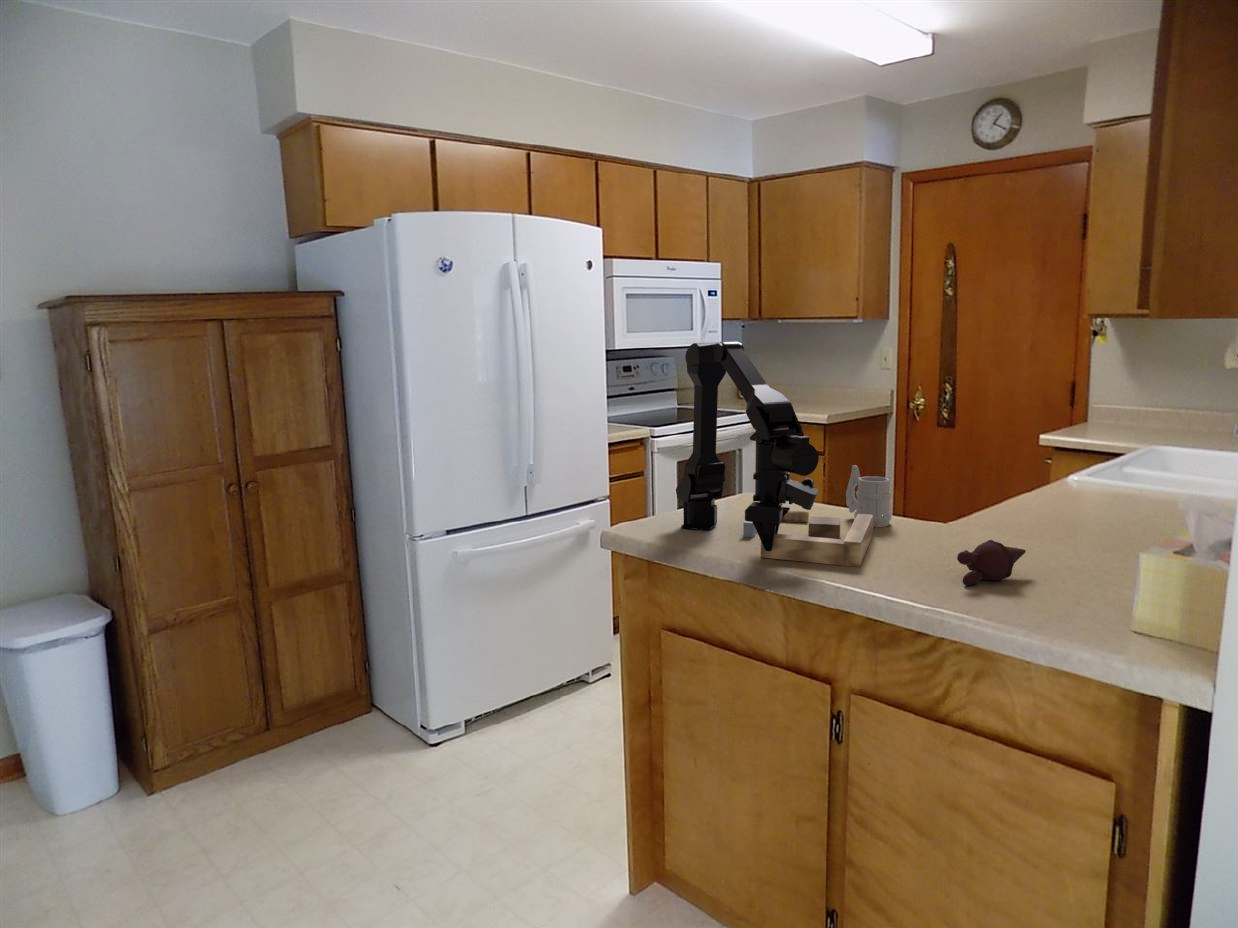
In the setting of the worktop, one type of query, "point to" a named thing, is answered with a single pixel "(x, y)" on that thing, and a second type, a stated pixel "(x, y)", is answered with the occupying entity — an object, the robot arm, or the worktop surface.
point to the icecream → (989, 562)
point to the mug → (869, 497)
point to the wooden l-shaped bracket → (825, 546)
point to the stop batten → (748, 529)
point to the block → (824, 527)
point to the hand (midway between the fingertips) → (769, 548)
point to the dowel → (796, 516)
